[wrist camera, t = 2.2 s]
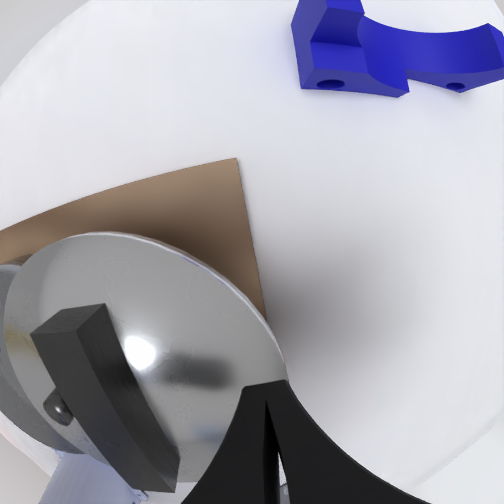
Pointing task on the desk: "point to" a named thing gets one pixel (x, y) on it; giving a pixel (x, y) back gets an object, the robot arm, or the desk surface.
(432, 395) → the desk surface
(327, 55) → the cable clip
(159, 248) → the lid
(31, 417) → the grey dish and cube
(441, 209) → the desk surface
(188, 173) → the walnut board
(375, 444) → the desk surface
